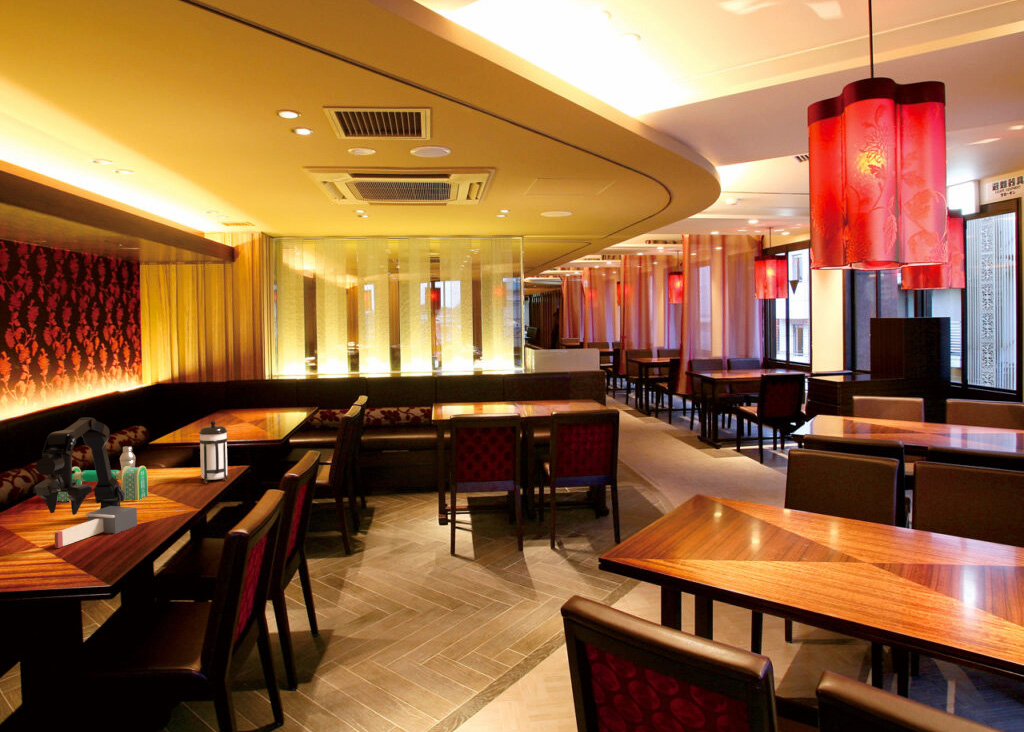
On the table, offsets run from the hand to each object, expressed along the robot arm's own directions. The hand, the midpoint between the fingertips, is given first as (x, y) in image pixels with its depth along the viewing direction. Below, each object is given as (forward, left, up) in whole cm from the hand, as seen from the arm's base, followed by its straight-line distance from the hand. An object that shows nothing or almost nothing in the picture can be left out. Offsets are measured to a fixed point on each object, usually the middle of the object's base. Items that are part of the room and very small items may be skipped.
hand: (63, 513), depth 217 cm
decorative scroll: (-54, -40, -12) cm, 68 cm away
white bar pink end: (-7, 0, -11) cm, 13 cm away
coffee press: (-97, -15, -12) cm, 98 cm away
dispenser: (-20, 0, -11) cm, 23 cm away
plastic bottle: (-73, -44, -12) cm, 86 cm away
